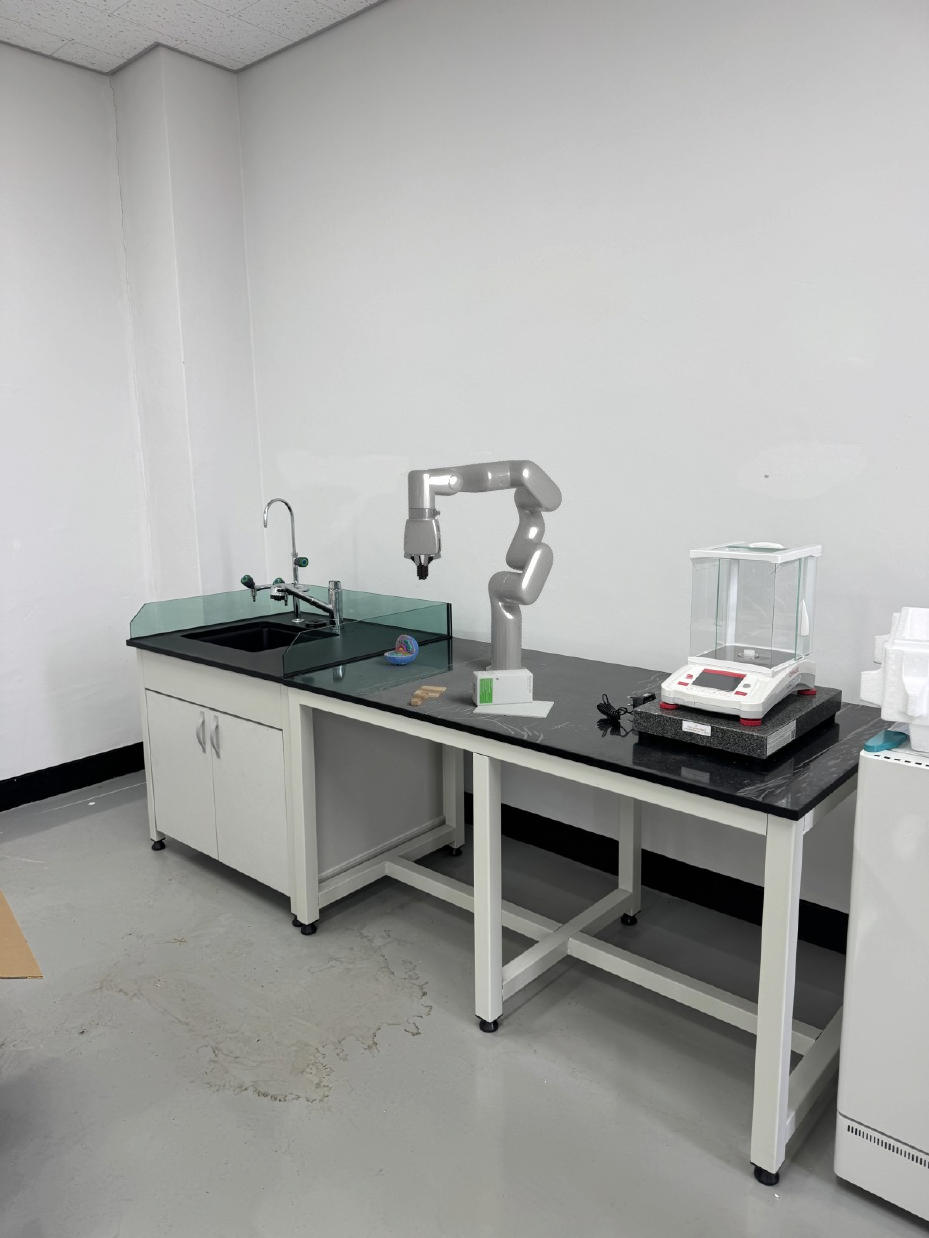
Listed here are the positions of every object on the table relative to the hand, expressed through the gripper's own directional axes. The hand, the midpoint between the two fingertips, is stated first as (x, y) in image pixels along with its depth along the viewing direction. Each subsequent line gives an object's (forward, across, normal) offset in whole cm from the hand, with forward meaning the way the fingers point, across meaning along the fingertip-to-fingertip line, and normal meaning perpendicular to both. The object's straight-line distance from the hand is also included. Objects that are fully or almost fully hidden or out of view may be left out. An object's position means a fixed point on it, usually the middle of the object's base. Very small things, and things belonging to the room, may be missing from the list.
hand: (422, 579), depth 247 cm
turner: (+32, -3, +9) cm, 33 cm away
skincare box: (+28, -18, +15) cm, 36 cm away
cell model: (+32, +15, -28) cm, 45 cm away
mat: (+32, -29, +16) cm, 46 cm away
